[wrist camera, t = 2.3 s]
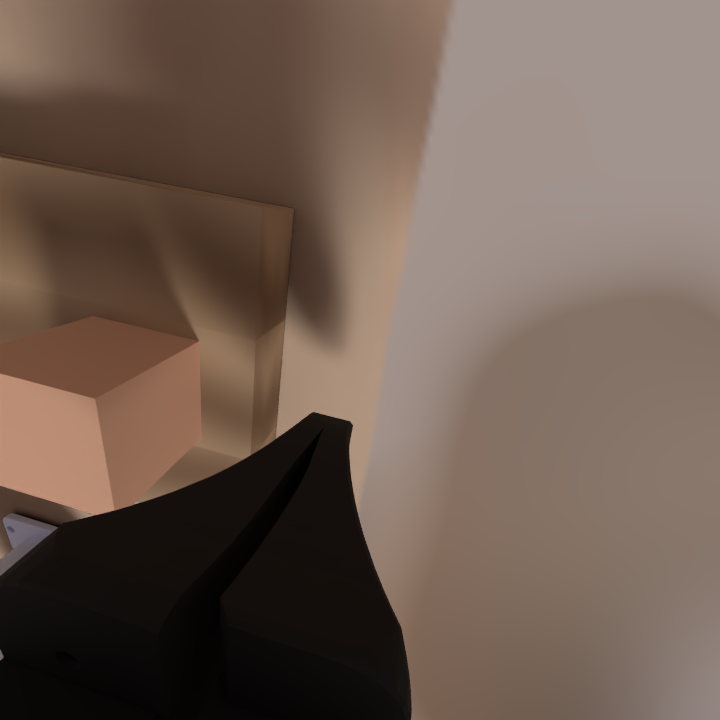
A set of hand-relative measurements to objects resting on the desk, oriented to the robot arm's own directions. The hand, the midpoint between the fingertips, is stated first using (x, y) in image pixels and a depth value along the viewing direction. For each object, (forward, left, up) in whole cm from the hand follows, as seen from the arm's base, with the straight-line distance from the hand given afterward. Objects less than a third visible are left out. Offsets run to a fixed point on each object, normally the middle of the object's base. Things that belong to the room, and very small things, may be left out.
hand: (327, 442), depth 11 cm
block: (0, +7, -1) cm, 7 cm away
